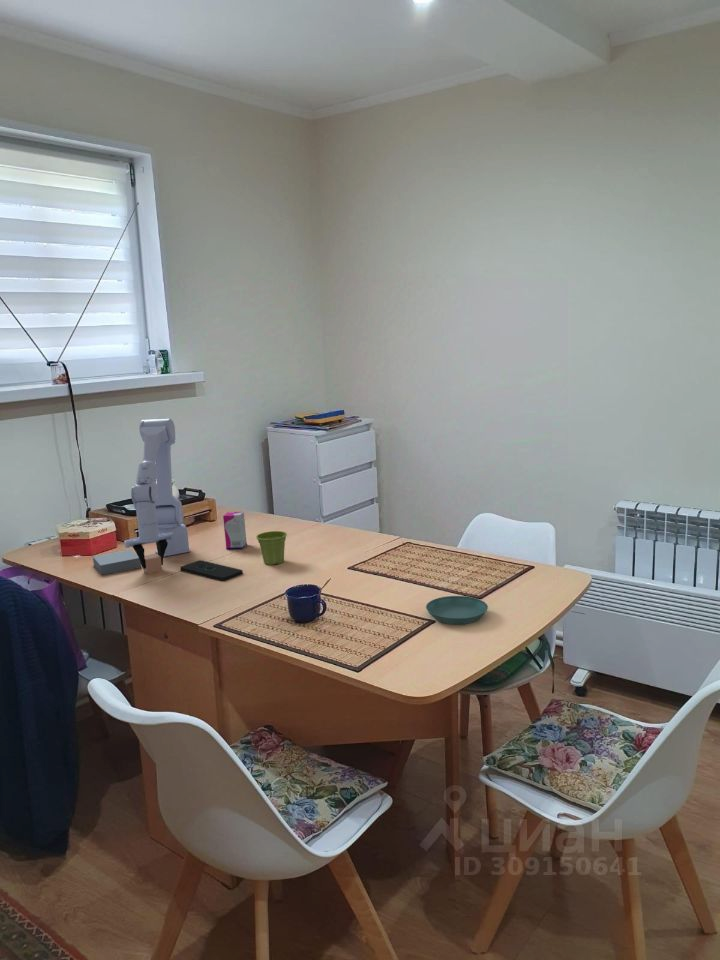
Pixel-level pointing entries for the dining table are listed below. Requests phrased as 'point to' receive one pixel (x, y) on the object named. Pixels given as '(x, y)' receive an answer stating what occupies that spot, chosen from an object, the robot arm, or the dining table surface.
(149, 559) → the pale pink cube
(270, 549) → the plant pot
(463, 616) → the saucer
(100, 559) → the base board
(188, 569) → the smart home device
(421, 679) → the dining table surface
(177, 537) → the robot arm
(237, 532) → the supplement box
